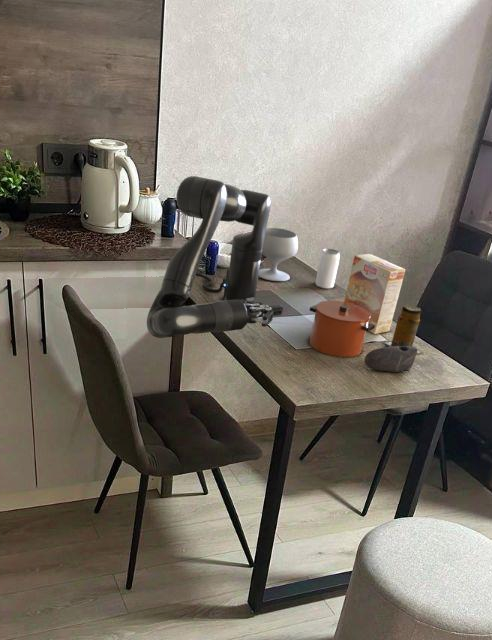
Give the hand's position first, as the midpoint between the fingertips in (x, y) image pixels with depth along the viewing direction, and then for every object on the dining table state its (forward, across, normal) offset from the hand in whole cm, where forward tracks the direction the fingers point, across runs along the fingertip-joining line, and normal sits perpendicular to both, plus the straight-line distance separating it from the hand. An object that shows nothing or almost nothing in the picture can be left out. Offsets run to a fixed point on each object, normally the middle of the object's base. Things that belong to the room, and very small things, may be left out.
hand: (280, 309), depth 189 cm
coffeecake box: (+43, +13, +14) cm, 47 cm away
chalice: (+38, +57, +14) cm, 70 cm away
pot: (+23, +1, +14) cm, 26 cm away
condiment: (+42, -6, +14) cm, 45 cm away
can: (+52, +45, +14) cm, 70 cm away
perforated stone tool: (+27, -17, +14) cm, 35 cm away
